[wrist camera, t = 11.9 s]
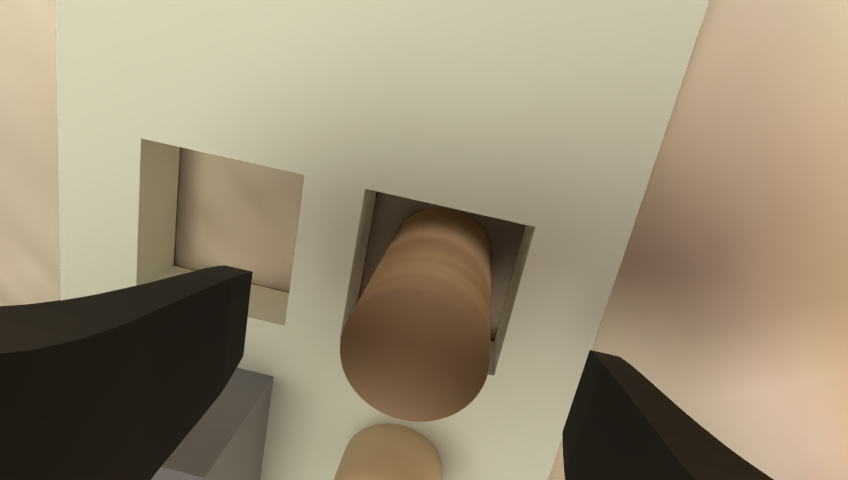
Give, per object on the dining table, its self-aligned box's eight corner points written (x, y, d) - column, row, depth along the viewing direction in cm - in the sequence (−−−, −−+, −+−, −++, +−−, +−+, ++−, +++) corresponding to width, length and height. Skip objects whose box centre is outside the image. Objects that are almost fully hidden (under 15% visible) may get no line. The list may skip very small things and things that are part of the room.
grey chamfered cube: (255, 513, 18) (189, 640, 14) (102, 473, 19) (-5, 587, 15) (274, 376, 17) (204, 478, 13) (104, 334, 17) (-17, 421, 13)
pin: (466, 317, 18) (452, 443, 12) (376, 278, 17) (319, 386, 12) (509, 232, 17) (515, 325, 11) (413, 190, 16) (370, 262, 11)
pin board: (506, 548, 20) (509, 701, 15) (102, 446, 21) (-13, 561, 16) (710, -84, 14) (825, -156, 9) (110, -200, 14) (-80, -325, 10)
